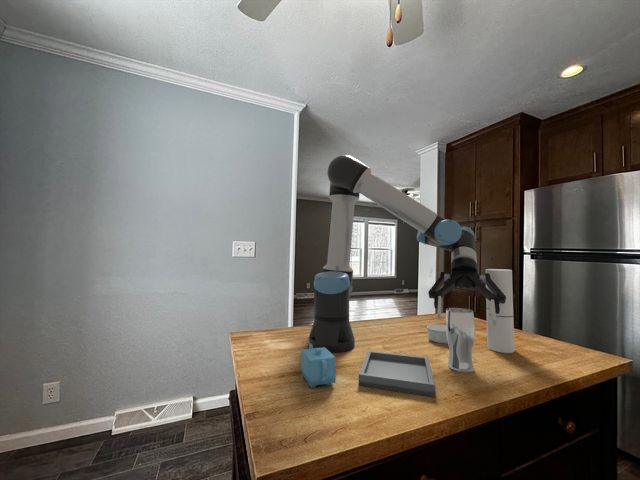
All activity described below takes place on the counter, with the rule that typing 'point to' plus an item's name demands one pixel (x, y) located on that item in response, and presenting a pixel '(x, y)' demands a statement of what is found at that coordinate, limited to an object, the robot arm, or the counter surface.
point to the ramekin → (437, 333)
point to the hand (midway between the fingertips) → (465, 319)
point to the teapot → (318, 366)
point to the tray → (397, 373)
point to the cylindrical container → (501, 314)
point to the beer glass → (460, 338)
